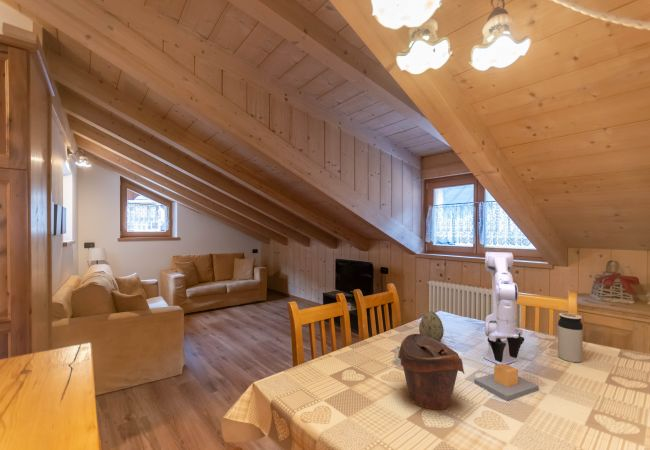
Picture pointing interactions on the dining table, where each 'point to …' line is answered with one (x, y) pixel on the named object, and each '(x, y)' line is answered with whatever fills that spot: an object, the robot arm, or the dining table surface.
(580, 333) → the travel mug
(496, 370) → the light orange cube
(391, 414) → the dining table surface
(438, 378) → the brown tapered pot
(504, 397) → the plate
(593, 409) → the dining table surface
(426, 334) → the decorative egg
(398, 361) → the valve
